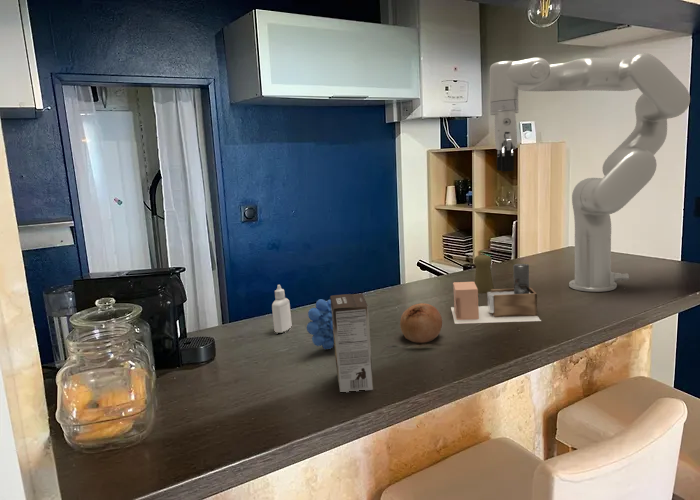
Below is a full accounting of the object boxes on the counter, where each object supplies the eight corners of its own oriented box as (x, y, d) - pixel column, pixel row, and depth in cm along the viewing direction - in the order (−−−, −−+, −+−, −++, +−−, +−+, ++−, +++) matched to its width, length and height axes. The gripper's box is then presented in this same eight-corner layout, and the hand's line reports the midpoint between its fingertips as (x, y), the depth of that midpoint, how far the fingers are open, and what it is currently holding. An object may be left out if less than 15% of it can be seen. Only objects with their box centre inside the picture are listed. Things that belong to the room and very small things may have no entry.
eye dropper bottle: (297, 329, 133) (293, 283, 131) (278, 335, 129) (273, 288, 127) (288, 326, 136) (284, 281, 134) (269, 331, 133) (264, 286, 131)
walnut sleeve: (531, 308, 132) (531, 287, 131) (537, 315, 126) (536, 293, 125) (491, 310, 133) (490, 289, 132) (494, 317, 127) (494, 295, 127)
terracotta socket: (475, 309, 135) (474, 281, 134) (478, 319, 127) (477, 289, 126) (454, 310, 136) (453, 282, 134) (456, 319, 128) (455, 290, 126)
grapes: (324, 361, 110) (319, 307, 108) (302, 355, 114) (297, 303, 112) (360, 345, 118) (356, 293, 116) (338, 339, 123) (334, 290, 121)
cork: (492, 288, 158) (491, 253, 157) (495, 293, 153) (494, 256, 151) (472, 289, 159) (471, 254, 157) (475, 294, 153) (473, 257, 151)
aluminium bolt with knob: (528, 306, 131) (527, 263, 129) (532, 311, 127) (531, 266, 125) (487, 307, 132) (486, 265, 131) (490, 312, 128) (488, 268, 126)
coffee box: (336, 374, 103) (329, 295, 100) (368, 370, 103) (362, 292, 101) (339, 394, 94) (332, 307, 91) (374, 390, 94) (368, 304, 92)
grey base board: (528, 308, 136) (528, 304, 136) (541, 324, 122) (541, 320, 122) (451, 310, 139) (450, 307, 139) (455, 327, 125) (454, 323, 125)
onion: (420, 360, 114) (410, 328, 109) (397, 338, 122) (387, 307, 116) (454, 338, 117) (446, 305, 111) (429, 318, 124) (421, 286, 119)
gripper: (523, 104, 135) (524, 170, 138) (513, 110, 152) (514, 169, 155) (493, 106, 136) (494, 172, 139) (487, 112, 153) (488, 170, 156)
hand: (505, 170), depth 147 cm, fingers open, 9 cm apart
